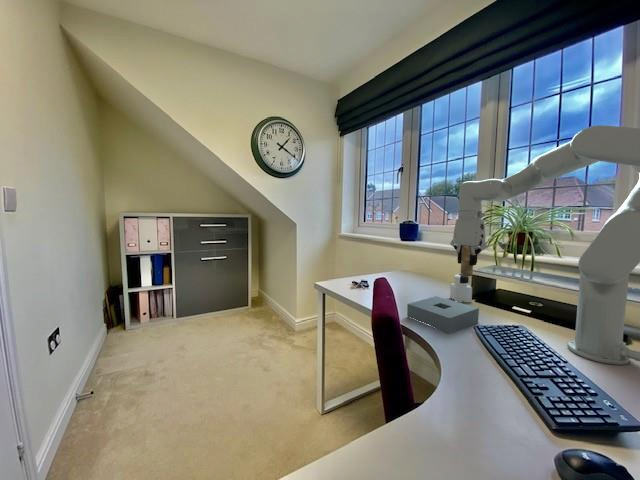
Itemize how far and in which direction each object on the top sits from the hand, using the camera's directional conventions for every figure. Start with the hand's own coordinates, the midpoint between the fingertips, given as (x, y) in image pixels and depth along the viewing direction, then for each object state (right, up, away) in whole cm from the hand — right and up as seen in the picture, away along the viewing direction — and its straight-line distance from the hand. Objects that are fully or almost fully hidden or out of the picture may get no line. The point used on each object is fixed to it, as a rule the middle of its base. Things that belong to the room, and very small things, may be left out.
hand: (466, 263), depth 104 cm
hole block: (-8, -22, +2) cm, 23 cm away
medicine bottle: (+11, -20, +26) cm, 34 cm away
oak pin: (0, -4, 0) cm, 4 cm away
